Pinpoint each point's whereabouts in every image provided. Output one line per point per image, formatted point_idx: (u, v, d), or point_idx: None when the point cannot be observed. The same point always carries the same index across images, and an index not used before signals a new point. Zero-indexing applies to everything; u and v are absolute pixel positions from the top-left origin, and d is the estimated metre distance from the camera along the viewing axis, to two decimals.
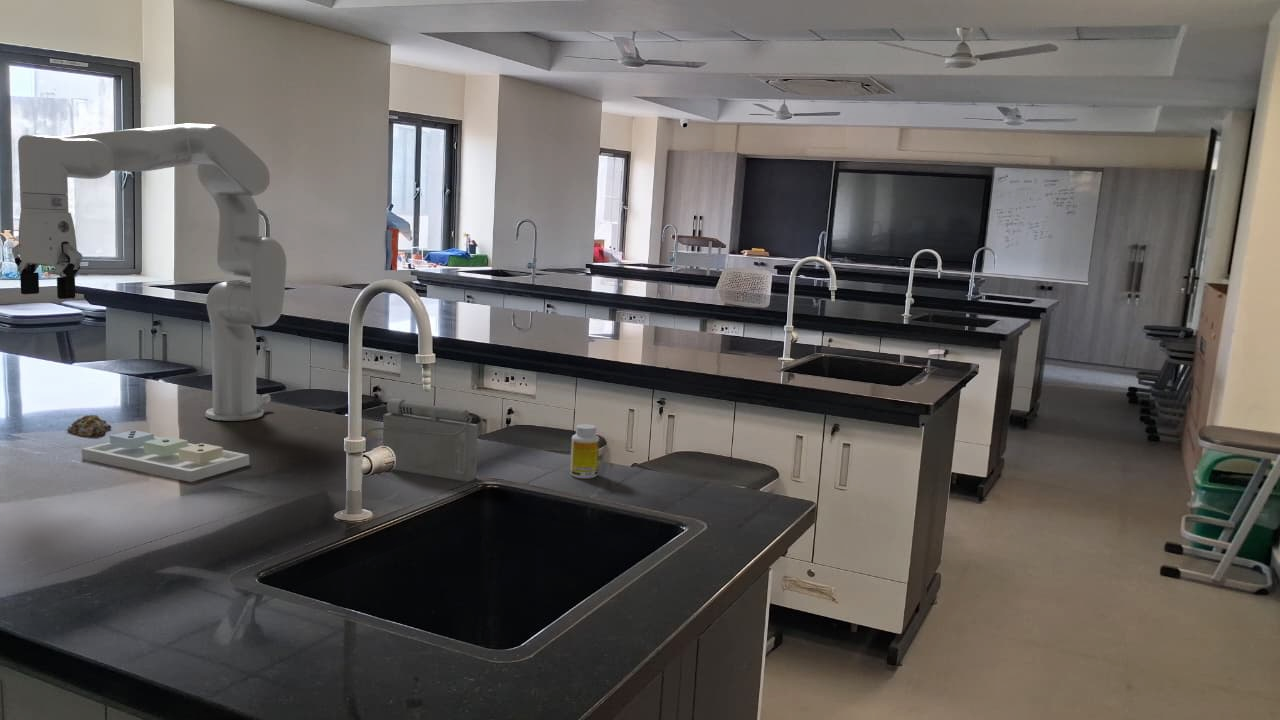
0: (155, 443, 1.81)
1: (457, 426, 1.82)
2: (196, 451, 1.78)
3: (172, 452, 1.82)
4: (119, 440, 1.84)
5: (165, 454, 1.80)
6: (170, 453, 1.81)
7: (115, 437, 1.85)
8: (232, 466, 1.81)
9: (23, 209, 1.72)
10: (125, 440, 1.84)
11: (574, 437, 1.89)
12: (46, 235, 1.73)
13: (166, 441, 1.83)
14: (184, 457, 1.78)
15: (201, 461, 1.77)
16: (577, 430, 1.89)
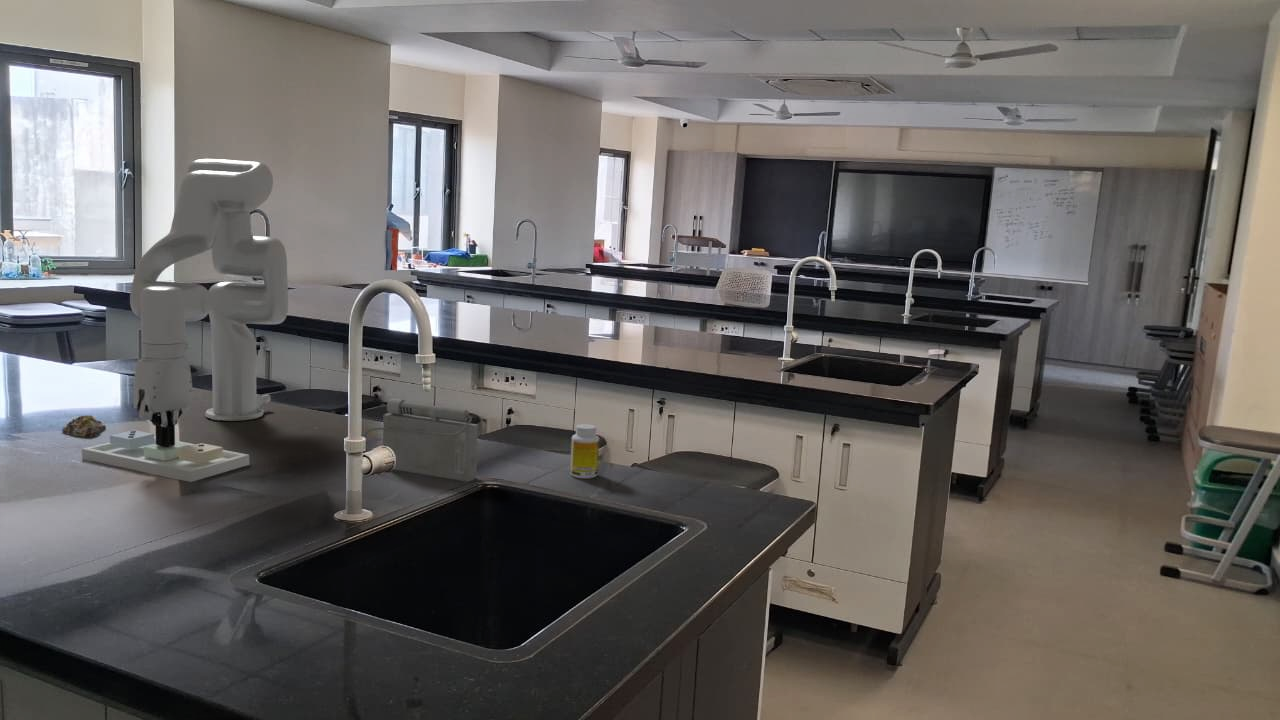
0: (155, 448, 1.82)
1: (457, 426, 1.82)
2: (196, 451, 1.78)
3: (172, 457, 1.82)
4: (119, 440, 1.84)
5: (165, 459, 1.81)
6: (170, 458, 1.82)
7: (115, 437, 1.85)
8: (232, 466, 1.81)
9: (176, 359, 1.79)
10: (125, 440, 1.84)
11: (574, 437, 1.89)
12: (187, 379, 1.84)
13: None
14: (184, 457, 1.78)
15: (201, 461, 1.77)
16: (577, 430, 1.89)
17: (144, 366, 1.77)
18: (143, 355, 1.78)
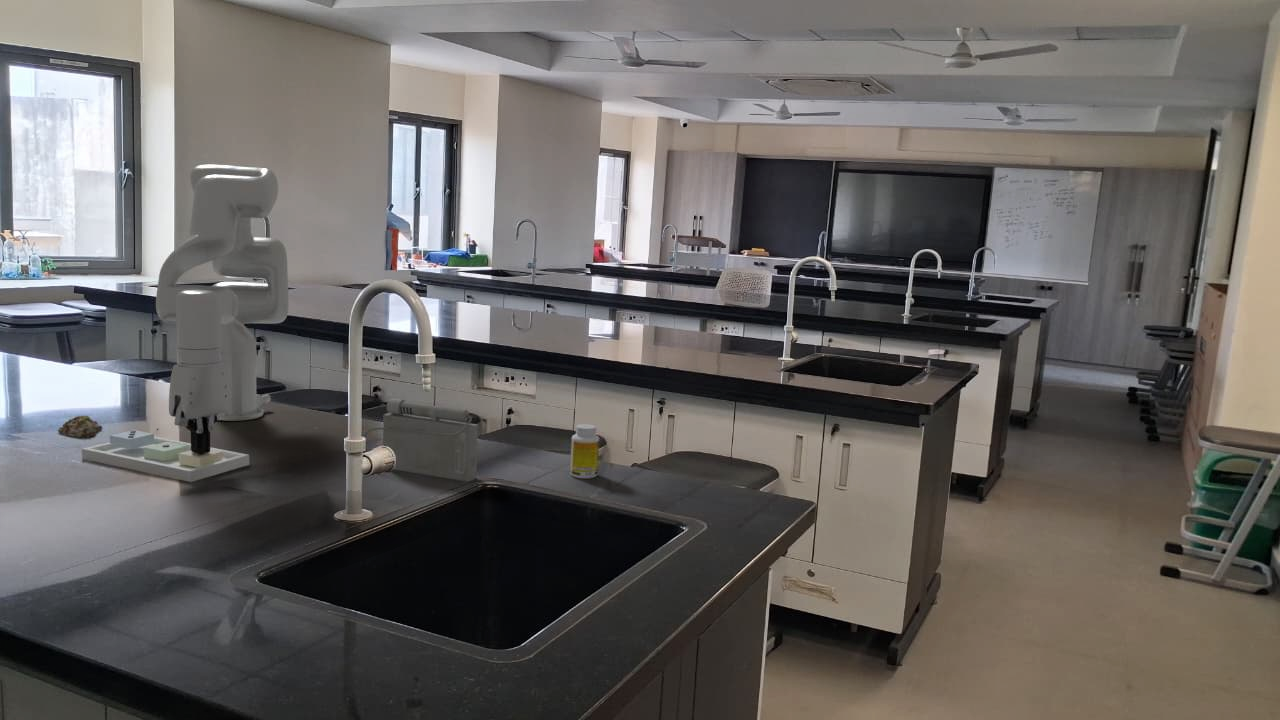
0: (155, 448, 1.82)
1: (457, 426, 1.82)
2: (196, 455, 1.78)
3: (172, 457, 1.82)
4: (119, 440, 1.84)
5: (165, 459, 1.81)
6: (170, 458, 1.82)
7: (115, 437, 1.85)
8: (232, 466, 1.81)
9: (212, 365, 1.76)
10: (125, 440, 1.84)
11: (574, 437, 1.89)
12: (222, 384, 1.80)
13: (166, 446, 1.83)
14: (184, 461, 1.78)
15: (201, 465, 1.77)
16: (577, 430, 1.89)
17: (180, 372, 1.73)
18: (179, 360, 1.74)
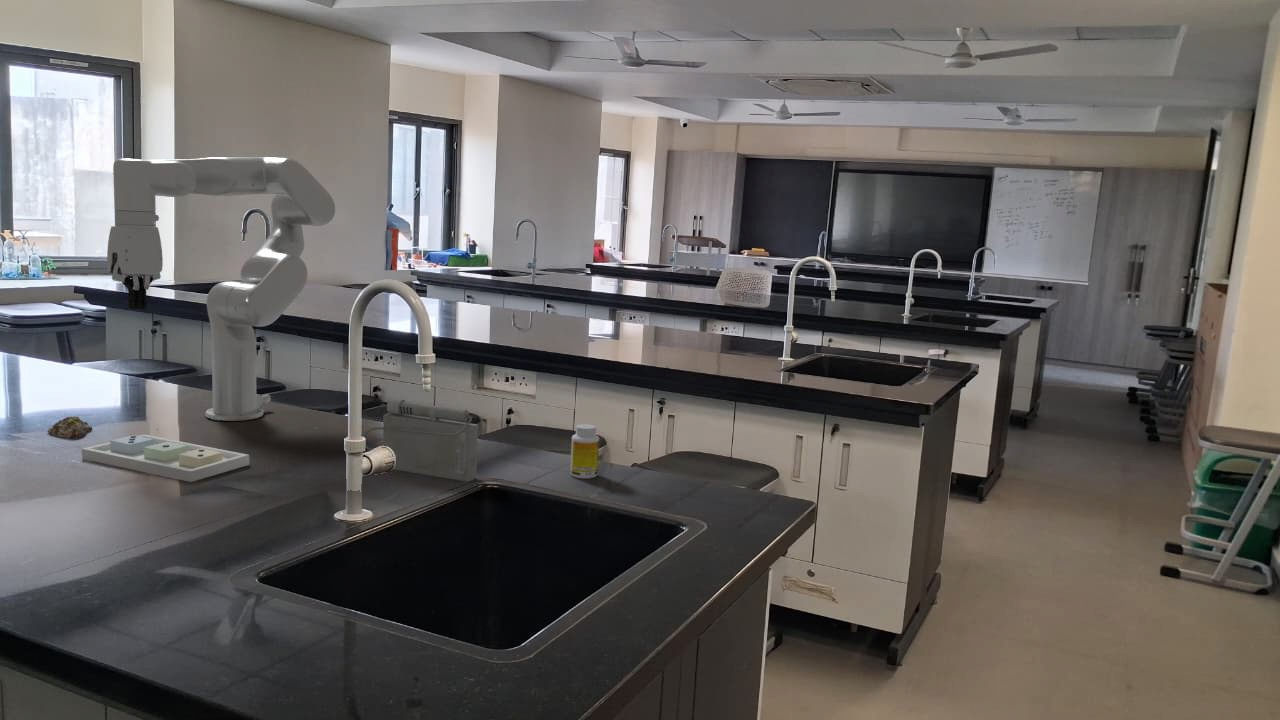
0: (155, 448, 1.82)
1: (457, 426, 1.82)
2: (196, 456, 1.78)
3: (172, 457, 1.82)
4: (119, 446, 1.85)
5: (165, 459, 1.81)
6: (170, 458, 1.82)
7: (115, 442, 1.85)
8: (232, 466, 1.81)
9: (147, 226, 1.94)
10: (125, 446, 1.84)
11: (574, 437, 1.89)
12: (157, 247, 1.99)
13: (166, 446, 1.83)
14: (184, 462, 1.78)
15: None
16: (577, 430, 1.89)
17: (116, 231, 1.92)
18: (116, 221, 1.93)
